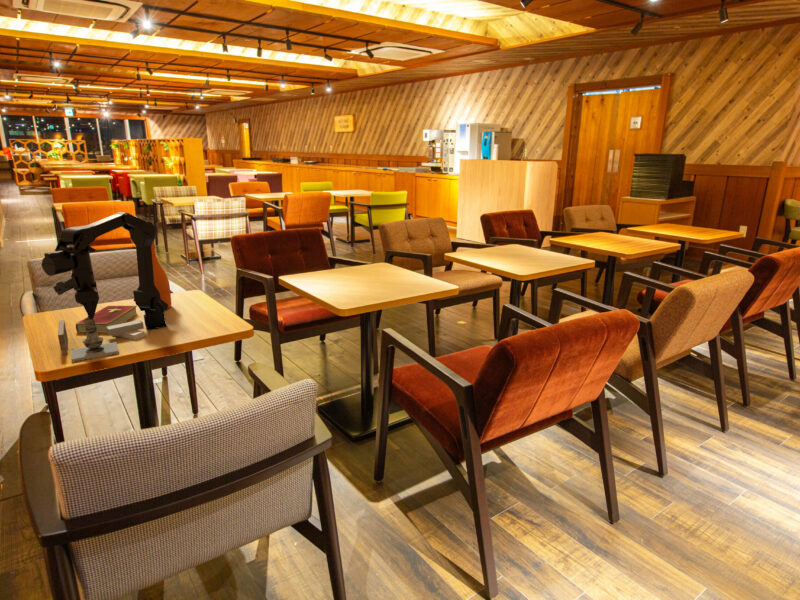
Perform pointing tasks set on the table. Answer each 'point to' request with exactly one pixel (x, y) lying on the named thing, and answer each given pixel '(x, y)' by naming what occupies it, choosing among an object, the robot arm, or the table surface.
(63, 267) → the robot arm
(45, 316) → the table surface
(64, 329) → the long thin taupe batten
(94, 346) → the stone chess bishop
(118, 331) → the top offcut
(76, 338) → the table surface
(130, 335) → the bottom offcut
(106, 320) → the hardcover book
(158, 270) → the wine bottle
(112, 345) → the slate mat
